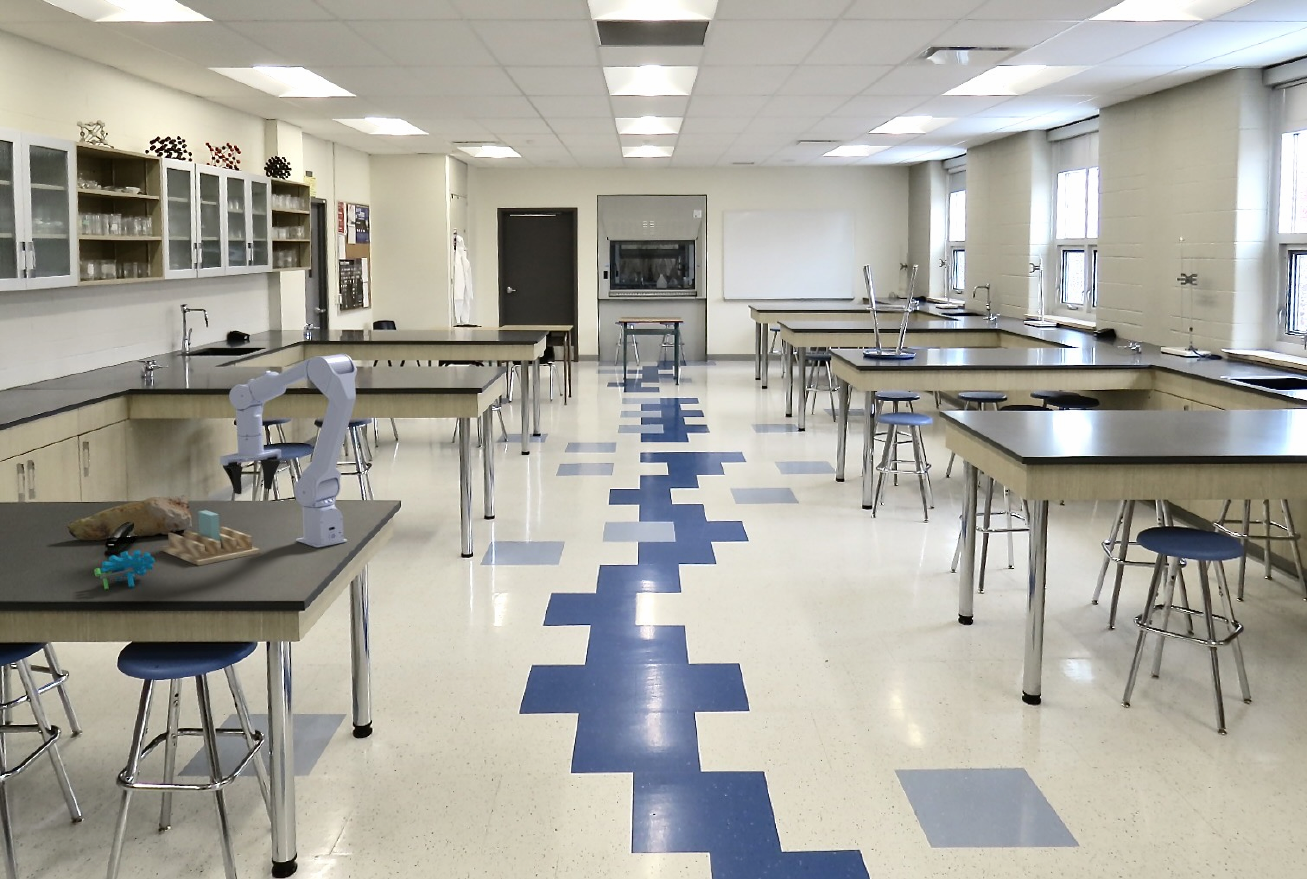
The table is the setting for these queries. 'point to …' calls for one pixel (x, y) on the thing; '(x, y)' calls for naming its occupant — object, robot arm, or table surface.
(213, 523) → the teal rectangular block
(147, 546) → the table surface
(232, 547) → the rack
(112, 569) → the toy stegosaurus
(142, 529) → the mineral
